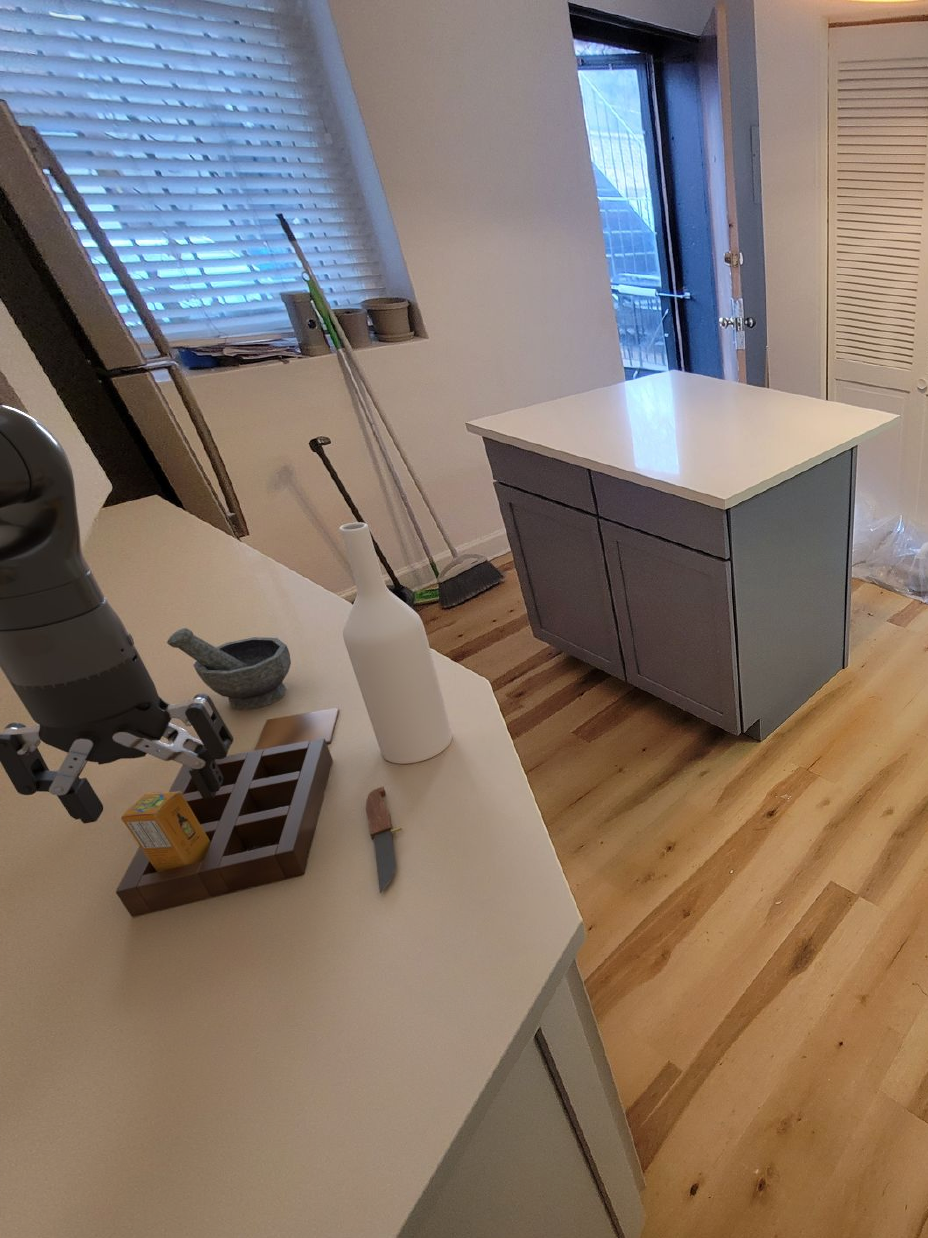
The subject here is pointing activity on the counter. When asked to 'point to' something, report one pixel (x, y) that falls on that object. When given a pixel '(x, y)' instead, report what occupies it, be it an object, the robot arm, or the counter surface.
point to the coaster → (298, 728)
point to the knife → (381, 835)
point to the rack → (241, 828)
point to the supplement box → (167, 830)
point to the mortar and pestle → (239, 667)
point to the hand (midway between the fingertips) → (155, 804)
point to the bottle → (392, 661)
